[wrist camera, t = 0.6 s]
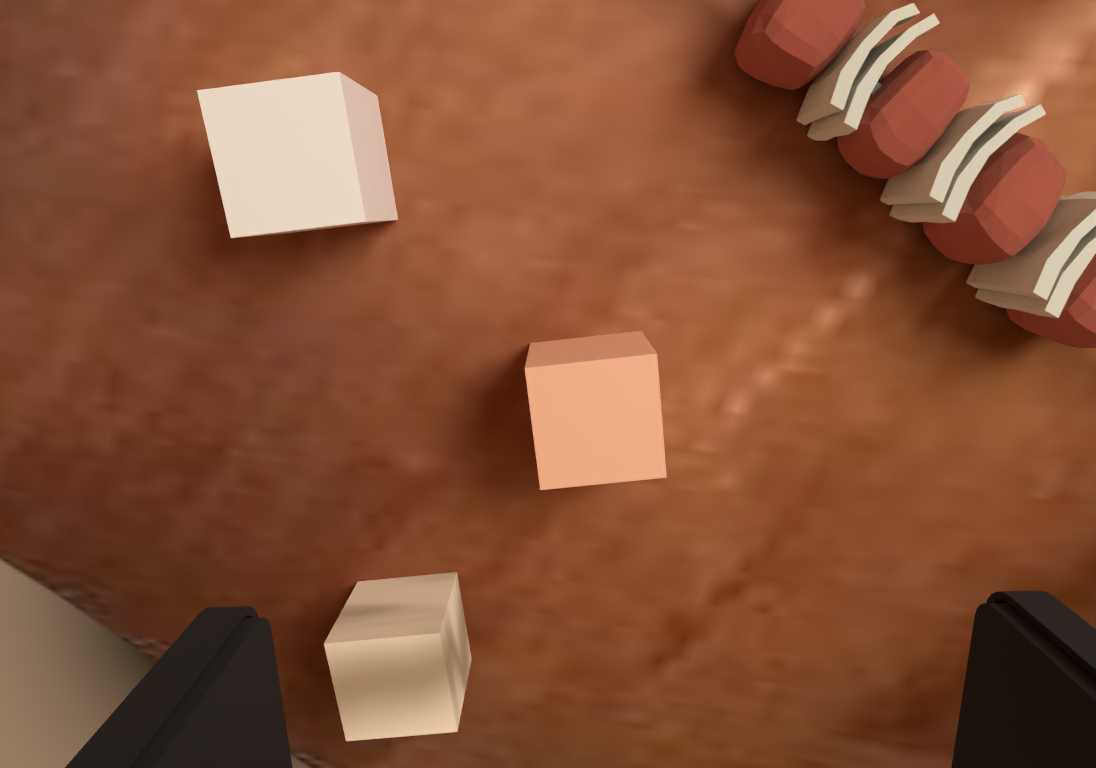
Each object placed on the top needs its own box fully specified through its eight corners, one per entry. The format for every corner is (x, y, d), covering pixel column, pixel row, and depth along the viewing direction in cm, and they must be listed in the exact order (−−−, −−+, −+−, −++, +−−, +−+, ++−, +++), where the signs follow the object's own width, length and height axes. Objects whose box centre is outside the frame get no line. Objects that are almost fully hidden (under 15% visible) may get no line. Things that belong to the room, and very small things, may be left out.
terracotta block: (649, 435, 31) (666, 477, 26) (543, 446, 31) (540, 490, 26) (641, 330, 30) (656, 353, 25) (530, 342, 30) (524, 368, 25)
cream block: (398, 219, 29) (366, 221, 24) (285, 233, 29) (230, 238, 24) (377, 96, 28) (339, 71, 23) (260, 111, 28) (196, 90, 23)
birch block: (471, 658, 34) (457, 731, 29) (376, 666, 35) (346, 741, 30) (457, 571, 33) (439, 633, 28) (358, 580, 33) (323, 643, 28)
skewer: (722, -212, 21) (1328, 364, 25) (696, -136, 26) (1212, 342, 29) (618, -67, 22) (1214, 465, 26) (611, -18, 27) (1119, 429, 30)
